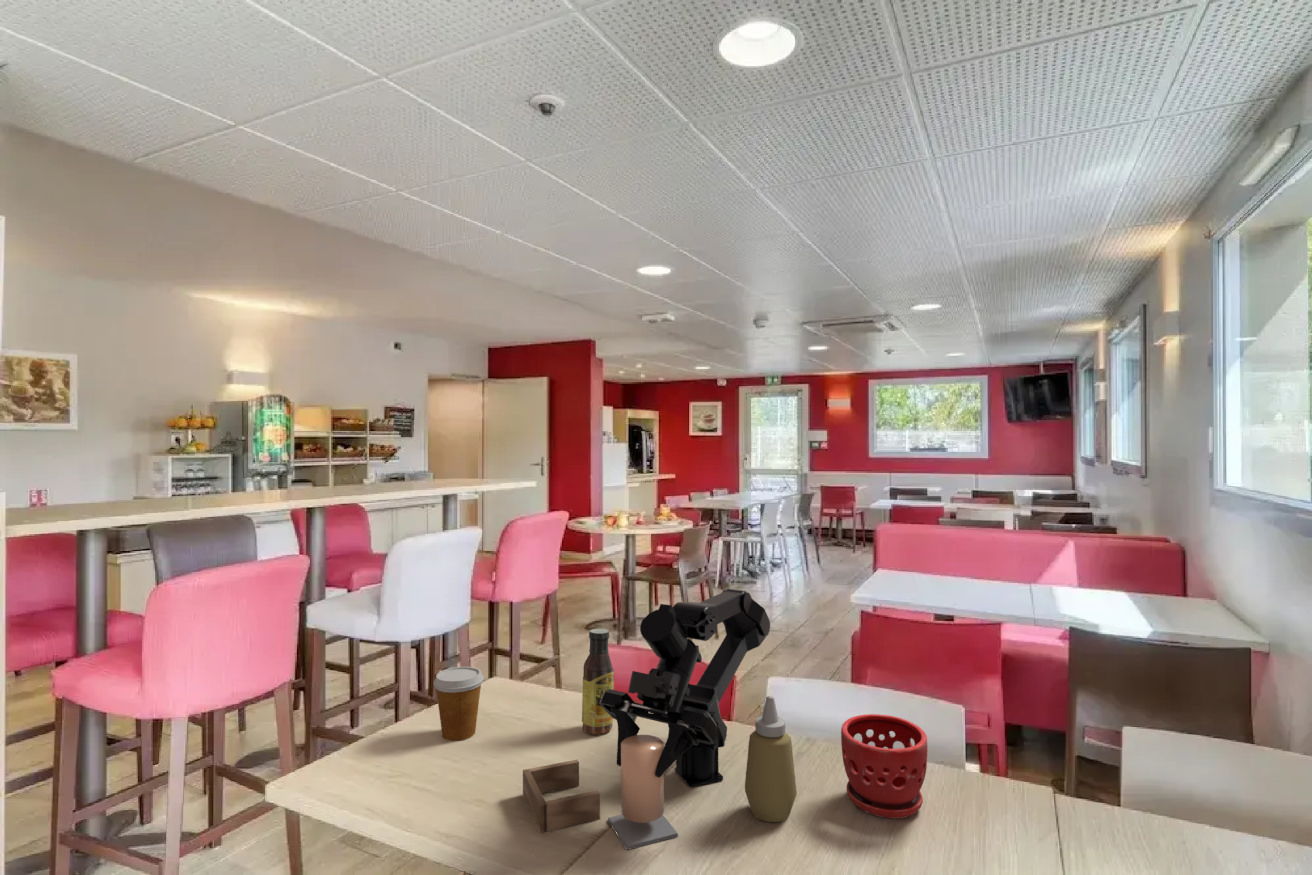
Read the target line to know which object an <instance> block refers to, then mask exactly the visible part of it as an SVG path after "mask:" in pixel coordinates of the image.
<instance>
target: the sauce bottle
mask: <svg viewBox="0 0 1312 875" xmlns="http://www.w3.org/2000/svg"><path fill="white" fill-rule="evenodd" d="M588 632H589V633H588V638H589V650H588V651H589V654H588V656H587V658H586V659H585V661H584V664H583V676H582V696H581V698H582V700H581V703H582V705H581V709H582V710H581V722H582V731H583V732H584V733H586V734H588V735H591V736H592V735H593V736H594V735H598V736H599V735H605V734H607V733H609V732H610V731H611V730H612V729H613V723H614V718H612V717H611V716H610V715H609V714H608V713H607V712H606V711H605V709H604V708H603V707H602V706H601V705H600V704H599V703H600V700H601V698H602V696H603V694H604V693H605V692H606V691H607V690H609V689H611V690H615V687H614V686H615V681H614V680H615V679H614V677H615V675H614V674H615V671H614V668H613V665H612V660H611V658H610V653H609V638H610V631H609V629H607V628H593V629H590V630H589V631H588Z"/></svg>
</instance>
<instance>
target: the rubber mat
mask: <svg viewBox="0 0 1312 875" xmlns="http://www.w3.org/2000/svg"><path fill="white" fill-rule="evenodd" d="M607 821H608V823H609V824H610V826H611V827H612V826H613V828H614V829H613V828H612V829H613V830H615V831H616V832H617V834H618V835H617V834H616V835H617V837H618V836H619V837H618V839H619V840H620V839H621V840H620V841H622V842H623V843H622V842H621V843H622V845H623V844H624V845H623V846H624V848H625V847H626V848H627V849H628V850H630V849H629V848H631V849H635V848H639V847H643V846H646V845H650V844H654V843H658V842H662V841H666V840H670V839H674V838H678V836H679V835H678V832H677V830H675V828H674V826H672V824H671V823H670V822H669V820H668V819H667V818H666V817H665V816H664V814H663V815H662V816H661V817H660V818H658V819H657V820H654V821H651V822H645V823H639V822H633V821H630V820H628V819H626V818H625V817H624V816H623V815H622V814H617V815H614V816H609V817H608V819H607ZM615 831H614V832H615ZM616 832H615V833H616ZM626 848H625V849H626ZM627 849H626V850H627Z"/></svg>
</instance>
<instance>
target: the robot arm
mask: <svg viewBox="0 0 1312 875" xmlns="http://www.w3.org/2000/svg"><path fill="white" fill-rule="evenodd" d="M721 623H722V624H723V626H724V629H725V637H724V638H723V639H722V641H721V644H720V645H719V647H718V649H717V650H716V651H715V653H714V655H713V656H712V658H711V660H710V662H709V663H708V665H707V667H706V668H705V670H704V671H703V673H702V675H701V676H700V678H699V680H698V681H697V683H696V684H692V683H690V680H691V678H692V674H693V672H694V669H695V666H696V663H699V664H700V663H702V655H701V652H700V649H699V648H700V646H699V645H698V644H697V645H696V643H695V642H694V641H693V640H697V641H703V642H707V641H709V640H710V639H711V638H712V637H713V636H714V635H715V634H716V633H717V632H718V631H717V629H718V627H717V626H718V625H719V624H721ZM639 627H640V628H639V629H640V631H639V632H640V635H641V637H642V638H643V639H644V640H645V642H646V643H647V644H648V646H649V647H650V649H651V650H652V652H653V653H654V654H655V656H656V657H658V658H659V660H658V663H657V665H656V668H651V669H650V670H649V672H648V673H645V672H639V671H635V670H632V671H631V676H630V681H629V683H628V690H627V692H625V691H619V690H615V689H614V690H611V689H609V690H607V691H606V692H605V693H604V694H603V696H602V698H601V700H600V703H599V704H600V705H601V706H602V707H603V708H604V709H605V711H606V712H607V713H608V714H609V715H610V716H611V717H612V718H613V720H616V723H617V746H616V747H617V748H616V765H617V766H618V767H621V743H622V741H623V740H624V739H626V738H628V737H630V736H634V735H639V734H638V733H639V731H640V730H641V728H640V727H639V725H638V724H637V723H636V720H637V718H638V717H639V718H641V719H642V718H643V719H646V720H651V721H655V722H658V723H663V724H667V726H668V735H667V739H666V741H665V744H664V749H663V751H662V754H661V757H660V759H659V762H658V765H657V768H656V772H655V775H656V776H657V777H659V778H660V777H661V776H662V775H663V774H664V775H665V773H666V771H667V770H669V768H671V766H672V765H673V764H674V763H675V767H674V772H675V773H676V774H677V775H678V777H680V779H682V780H683V782H684V783H685V784H686V785H687V786H688V787H689V788H692V787H693V788H694V787H697V786H702V785H706V784H710V783H711V784H712V783H714V782H715V783H716V782H719V781H723V780H724V776H723V775H722V774H721V772H719V748H723V747H725V744H726V743H725V741H726V740H727V735H728V734H727V733H728V727H727V725H726V723H725V722H724V720H723V719H722V718H721V712H720V705H719V704H720V702H721V700H722V699H723V696H724V694H725V693H726V691H727V689H728V687H729V685H730V684H731V681H732V680H733V678H734V676H735V674H736V673H737V671H738V669H739V666H740V665H741V663H742V661H743V660H744V658H745V657H746V654H747V653H748V652H750V651H752V650H755V649H756V648H758V647H760V646H761V644H763V642H764V640H765V639H766V637H768V636H769V634H770V629H771V620H770V619H769V616H768V614H767V611H766V609H765V608H764V607H762V605H761V604H759V603H758V602H757V601H756V600H754V599H753V598H752V596H751V593H750V592H747V591H746V590H743V589H741V590H740V589H733V588H727V589H723V591H722V592H721V593H718V594H716V595H713V596H711V597H709V598H707V599H704V600H703V601H699V602H697V601H695V602H692V601H679V602H676V603H675V604H674V605H673V606H672V605H671V604H664V603H660V605H659V608H658V609H656V610H653V611H650V612H649V613H648V614H647V615H646V616H645V618H643V619H642V621H641V622H640V626H639ZM691 639H692V640H691ZM629 693H630V694H635V693H636V694H637V695H636V698H638V700H639V701H642V703H639V702H635V700H633V699H632V697H631V696H630V695H629Z"/></svg>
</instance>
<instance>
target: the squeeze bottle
mask: <svg viewBox="0 0 1312 875" xmlns="http://www.w3.org/2000/svg"><path fill="white" fill-rule="evenodd" d="M754 724H755V725H754V727H755V728H754V729H755V730H754V731H752V732H751V733H750V735H749V739H748V740H749V741H748V749H747V759H746V769H745V771H746V772H745V779H744V780H745V781H744V792H745V795H746V798H747V802H748V805H749V807H750V810H751V813H752V815H753V816H754V817H755V818H757V819H759V820H760V821H764V822H767V823H779V822H783V821H785V820H787V819H789V816H790V815H791V812H792V809H793V806H794V803H795V799H796V798H797V795H798V794H797V793H798V792H797V784H796V782H797V781H796V774H795V773H796V771H795V763H794V755H793V743H792V737H791V736H790V735H789V734H788V733H786V720H785V719H784V718H782V717H780V716H779V715H778V710H777V706H776V701H775V698H774V696H772V695H771V696H770V695H769V696H766V697H765V703H764V707H763V711H762V715H760V716H758V717H756V719H755V723H754Z"/></svg>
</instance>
